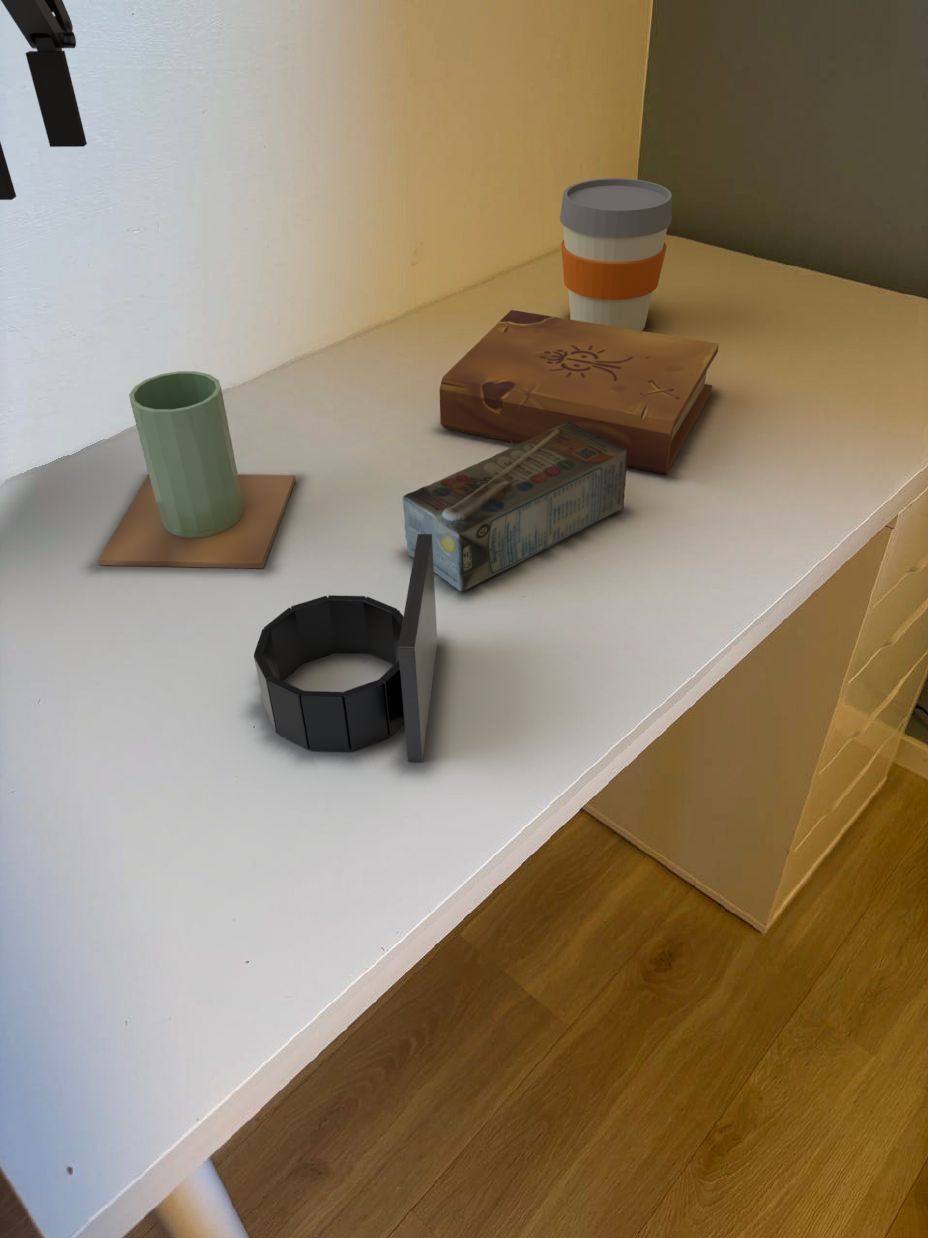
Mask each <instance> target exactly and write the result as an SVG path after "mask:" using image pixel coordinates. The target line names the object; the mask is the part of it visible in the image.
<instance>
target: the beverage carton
mask: <svg viewBox="0 0 928 1238" xmlns="http://www.w3.org/2000/svg"><path fill="white" fill-rule="evenodd" d="M626 465H627V451H626V449H625V448H623V447H620V446H618V445H615V444H613V443H611V442H609V441H607V440H604V439H603V438H602V437H600V436H599V435H596V434H594V433H592V432H589V431H587V430H584V429H582V428H581V427H579V426H578V425H575V424H573V423H571V422H570V421H568V422H566V423H564V424H562V425H560V426H557V427H555V428H552V429H550V430H548V431H546V432H544V433H542V434H540V435H538V436H536V437H533V438H531V439H529V440H527V441H524V442H522V443H520V444H518V443H517V444H516V445H514V446H512V447H510V448H507V449H505V450H503V451H501V452H499V453H496V454H494V455H492V456H491V457H489V458H486V459H483V460H481V461H478V462H477V463H475V464H472V465H471V466H468V467H466V468H464V469H462V470H460V471H457V472H454V473H452V474H450V475H448V476H447V477H446V476H445V477H444V478H441V479H440V480H437V481H435V482H433V483H431V484H429V485H426V486H422V487H420V488H418V489H416V490H414V491H411V492H409V493H406V494H405V495H403V496H402V506H403V513H404V516H403V517H404V531H405V540H406V545H407V553H408V555H409V556H410V557H411V558H412V559H414V553H415V547H416V541H417V535H418V534H432V546H433V565H434V574H436V575H437V576H439V577H440V578H442V579H443V580H445V581H446V582H447V583H448V584H450V585H451V586H452V587H453V588H454V589H457V591H459V592H464V591H466V590H468V589H470V588H473V587H474V586H477V585H478V584H480V583H482V582H483V581H485V580H487V579H490V578H492V577H493V576H496V575H498V574H500V573H502V572H504V571H506V570H508V569H510V568H513V567H514V566H517V564H519V563H521V562H523V561H525V560H527V559H529V558H530V557H532V556H534V555H536V554H538V553H540V552H542V551H544V550H546V549H549V548H550V547H551V546H553V545H555V544H557V543H559V542H560V541H563V540H565V539H566V538H568V537H570V536H572V535H574V534H576V533H577V532H579V531H582V530H584V529H585V528H587V527H589V526H591V525H593V524H595V523H597V522H599V521H600V520H602V519H605V518H607V517H609V516H611V515H614V514H615V513H617V512H619V511H620V510H623V509H624V508H625V490H626V479H627V478H626V476H627V466H626Z"/></svg>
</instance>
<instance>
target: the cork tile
mask: <svg viewBox="0 0 928 1238" xmlns="http://www.w3.org/2000/svg"><path fill="white" fill-rule="evenodd" d="M238 478H239V484H240V489H241V494H242V499H243V507H244V513H243V516H242V518H241V519H240V520H239V522H238V523H237V524H235V525H234V526H233V527H231V528H230V529H228V530H226V531H224V532H221V533H219V534H215V535H212V536H207V537H200V538H186V537H180V536H176V535H174V534H172V533H170V532H168V531H167V530H166V529H165V528H164V527H163V525H162V522H161V520H160V516H159V512H158V508H157V504H156V500H155V496H154V492H153V488H152V484H151V480H150V477H149V473H147V476H146V477H145V479H144V481H143V482H142V484H141V486H140V488H139V489H138V491H137V493H136V494H135V495H134V498H133V500H132V501H131V503H130V504H129V506H128V507H127V509H126V511H125V513H124V514H123V516H122V518H121V520H120V521H119V523H118V525H117V526H116V529H114V532H113V533H112V535H111V537H110V538H109V540H108V542H107V544H106V545H105V547H104V549H103V550H102V552H101V554H100V555H99V557H98V559H97V561H98V564H99V565H98V566H123V567H124V566H126V567H127V566H130V567H170V568H171V567H173V568H175V567H176V568H218V569H219V568H222V569H223V568H226V569H230V568H231V569H264V567H265V564H266V562H267V559H268V556H269V554H270V551H271V548H272V545H273V543H274V540H275V538H276V535H277V532H278V529H279V526H280V525H281V521H282V518H283V515H284V512H285V510H286V507H287V504H288V502H289V500H290V497H291V493H292V491H293V488H294V486H295V483H296V475H294V474H242V473H241V474H239V473H238Z"/></svg>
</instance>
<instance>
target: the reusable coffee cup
mask: <svg viewBox="0 0 928 1238" xmlns="http://www.w3.org/2000/svg"><path fill="white" fill-rule="evenodd" d="M672 220H673V194H672V192H671V190H670V189H668V188H667V187H665V186H664V185H661V184H659V183H655V182H651V181H647V180H643V179H636V178H635V179H634V178H621V177H619V178H618V177H614V178H613V177H611V178H609V177H607V178H595V179H589V180H584V181H579V182H576V183H573V184H572V185H570V186H568V187H566V188H565V189H564V191H563V193H562V200H561V208H560V215H559V222H560V223H561V225H562V229H563V240H562V241H561V244H560V249H561V250H560V251H561V260H562V261H561V262H562V263H561V264H562V273H563V283H564V286H565V287H566V289H567V292H568V293H567V294H568V305H569V317H570V318H569V319H571V320H577V321H583V322H589V323H595V324H601V325H608V326H614V327H620V328H626V329H632V330H638V331H644V329H645V328H646V322H647V319H648V313H649V311H650V306H651V301H652V298H653V297H652V296H653V293H654V291H656V289H657V288H658V286H659V283H660V282H659V281H660V277H661V273H662V269H663V264H664V260H665V256H666V252H667V247H668V246H667V245H666V243H665V240H666V236H667V231H668V228H669V227H670V226H671V224H672Z"/></svg>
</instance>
